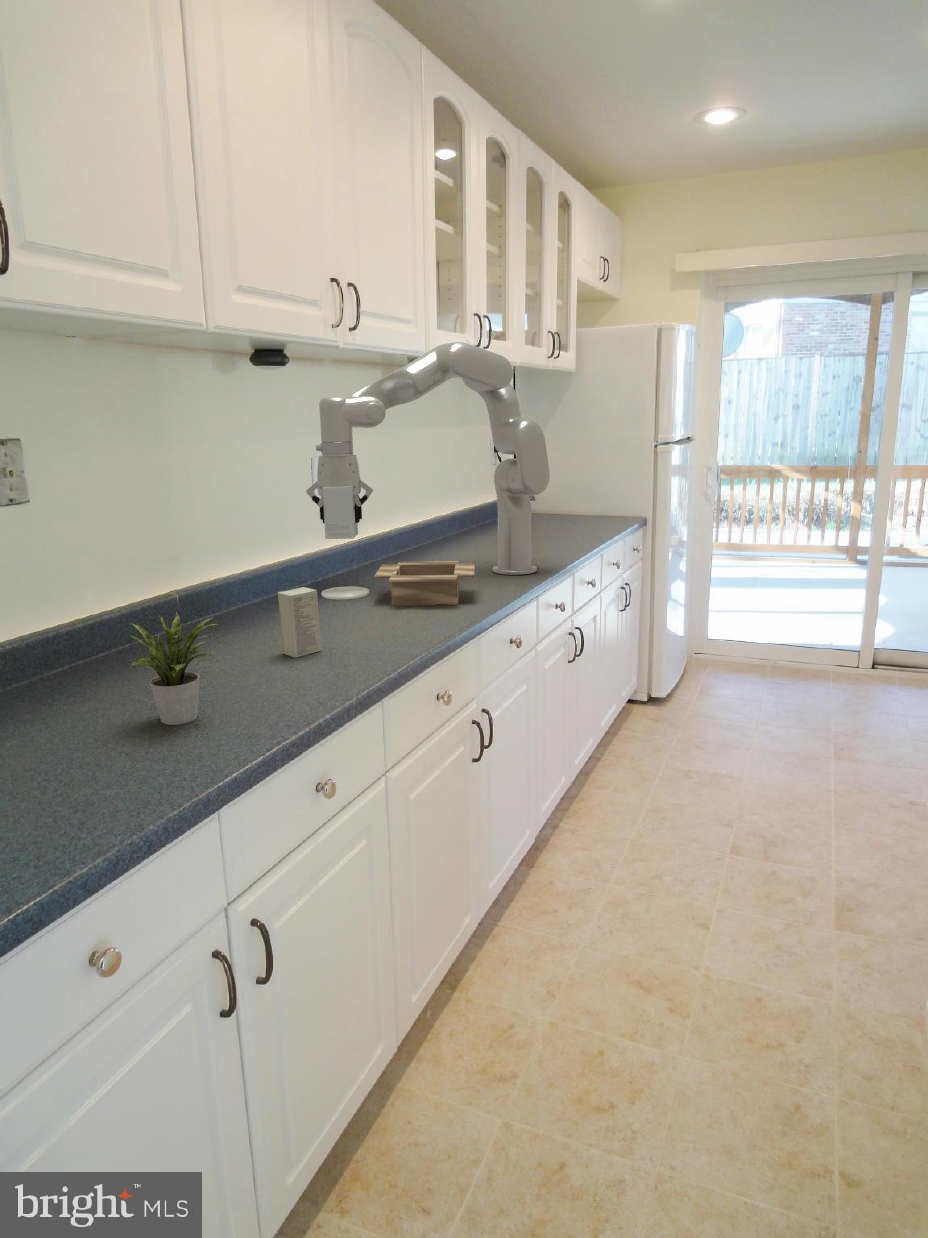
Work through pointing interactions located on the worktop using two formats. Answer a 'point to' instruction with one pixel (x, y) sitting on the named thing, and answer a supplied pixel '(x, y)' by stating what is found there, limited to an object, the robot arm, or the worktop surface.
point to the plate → (345, 593)
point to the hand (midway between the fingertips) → (341, 521)
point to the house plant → (174, 672)
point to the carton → (425, 581)
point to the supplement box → (339, 513)
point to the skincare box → (299, 621)
